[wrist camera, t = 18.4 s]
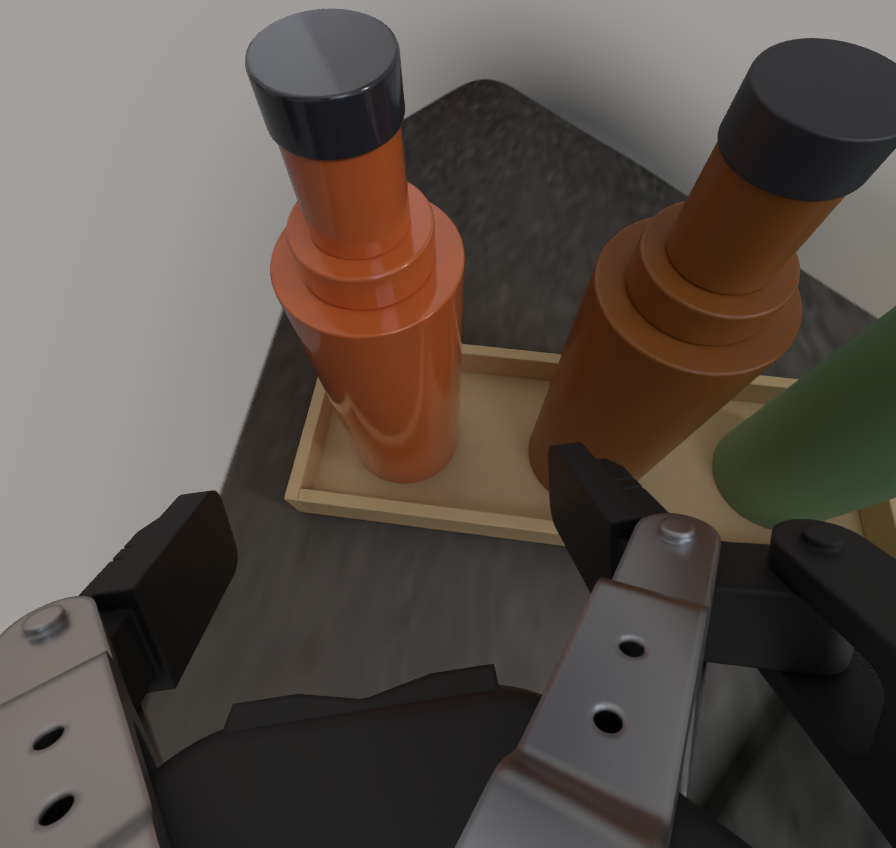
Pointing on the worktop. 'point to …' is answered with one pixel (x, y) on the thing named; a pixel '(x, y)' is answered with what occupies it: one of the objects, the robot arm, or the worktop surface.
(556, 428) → the amber bottle
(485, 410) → the tray
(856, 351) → the sage bottle
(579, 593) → the worktop surface
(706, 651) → the robot arm
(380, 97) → the terracotta bottle
